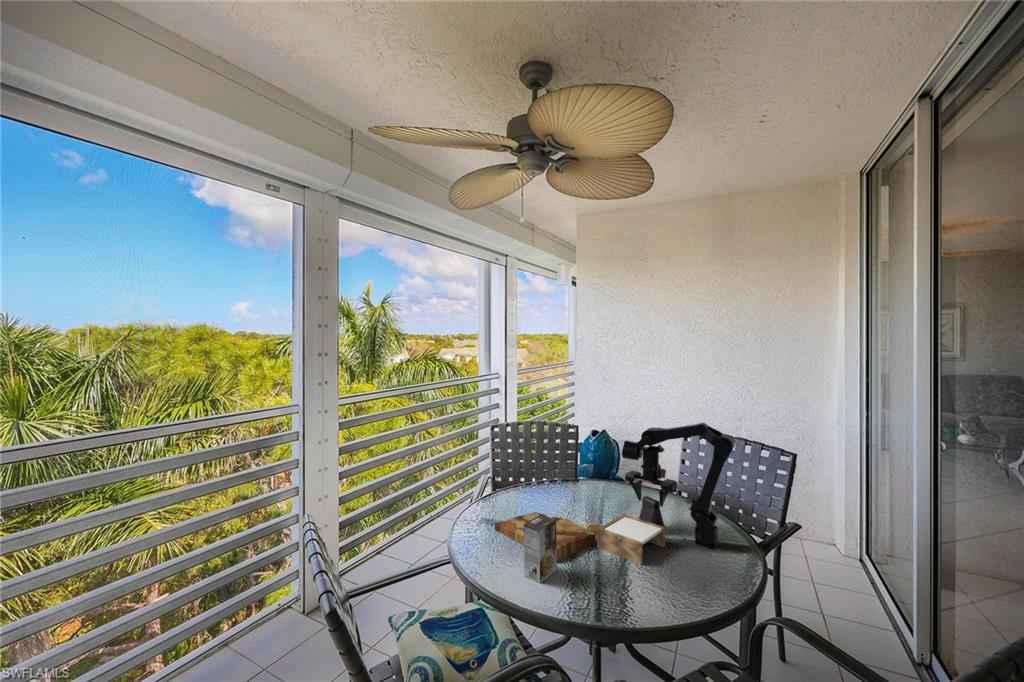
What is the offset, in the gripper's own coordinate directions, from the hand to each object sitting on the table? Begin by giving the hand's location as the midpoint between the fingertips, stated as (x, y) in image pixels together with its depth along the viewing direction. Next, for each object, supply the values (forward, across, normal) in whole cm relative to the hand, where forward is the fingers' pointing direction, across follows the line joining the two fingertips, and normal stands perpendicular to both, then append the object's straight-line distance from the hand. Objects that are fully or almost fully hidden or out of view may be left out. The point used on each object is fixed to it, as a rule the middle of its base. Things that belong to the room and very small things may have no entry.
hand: (650, 503), depth 164 cm
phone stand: (+10, 0, 0) cm, 10 cm away
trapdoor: (+6, -2, +17) cm, 18 cm away
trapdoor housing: (+10, -2, +17) cm, 20 cm away
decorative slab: (+11, +26, +32) cm, 42 cm away
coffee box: (+10, +10, +52) cm, 54 cm away
